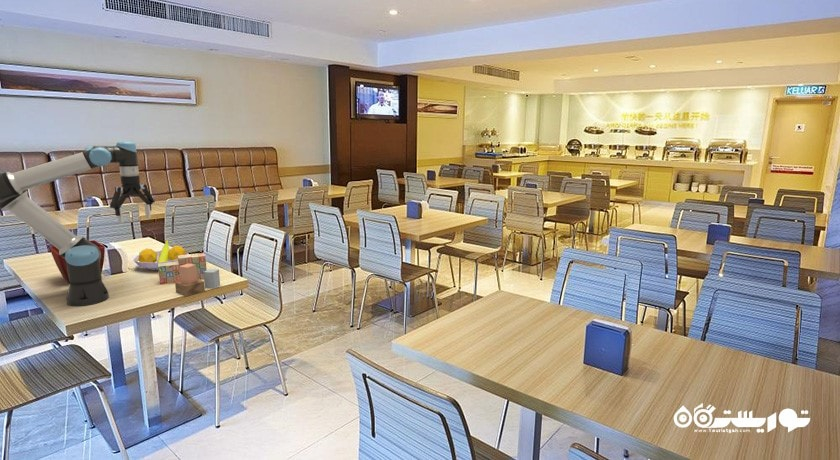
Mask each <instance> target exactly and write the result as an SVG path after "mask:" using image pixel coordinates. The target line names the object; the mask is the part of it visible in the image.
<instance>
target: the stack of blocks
mask: <svg viewBox="0 0 840 460" xmlns="http://www.w3.org/2000/svg"><path fill="white" fill-rule="evenodd" d="M187 263H188V264H195V265H196V271H197V279H200V280H204V271H206V270H208V269H207V261H206V254H205V253H204V252H202V253H190V254H188V255H179V256H178V262H168V263H158V270H157V271H158V277H159V278H158V279H159V285H165V284H166V285H167V284H175V282H179V281H180V272H179V266H182V265H185V264H187Z"/></svg>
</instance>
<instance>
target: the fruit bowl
mask: <svg viewBox="0 0 840 460" xmlns="http://www.w3.org/2000/svg"><path fill="white" fill-rule="evenodd" d="M179 255H189V252H187V251H186V250H185V249H184V247H183V246H181V245H173V246H172V247H171V248H170V245H169V241H168V239H167V240H165V243H164V245H163V247H162V249H161V250H158V251H156V250H154V249H151V248H145V249H143V250H141V251H140V252H139V253H138V255H136V256H135V257H134V258H133V259H132V261H133V262H134V263H135V264H136V265H137V266H138V267H139V268H142V269H147V270H151V271H158V263H168V262H178V256H179ZM138 261H139V262H138Z"/></svg>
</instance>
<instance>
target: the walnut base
mask: <svg viewBox="0 0 840 460" xmlns="http://www.w3.org/2000/svg"><path fill="white" fill-rule="evenodd" d="M197 280H198V281H196V282H194V283H191V284H184V283H181V281H179V282H175V283H174V284H175V285H174V286H175V293H178V294H180V295H182V296H185V297H188V296H192V295H195V294H199V293H203V292H205V291H206V288H205V283H204V280H202V279H200V280H199V279H197Z"/></svg>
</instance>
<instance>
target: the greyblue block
mask: <svg viewBox="0 0 840 460" xmlns="http://www.w3.org/2000/svg"><path fill="white" fill-rule="evenodd" d="M220 278H221V277H220V269H218V268H208V269H207V270H206V271H204V279H203V281H204V286H205V289H216V288H218V287H220V286H221V279H220ZM217 286H218V287H217Z"/></svg>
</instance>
